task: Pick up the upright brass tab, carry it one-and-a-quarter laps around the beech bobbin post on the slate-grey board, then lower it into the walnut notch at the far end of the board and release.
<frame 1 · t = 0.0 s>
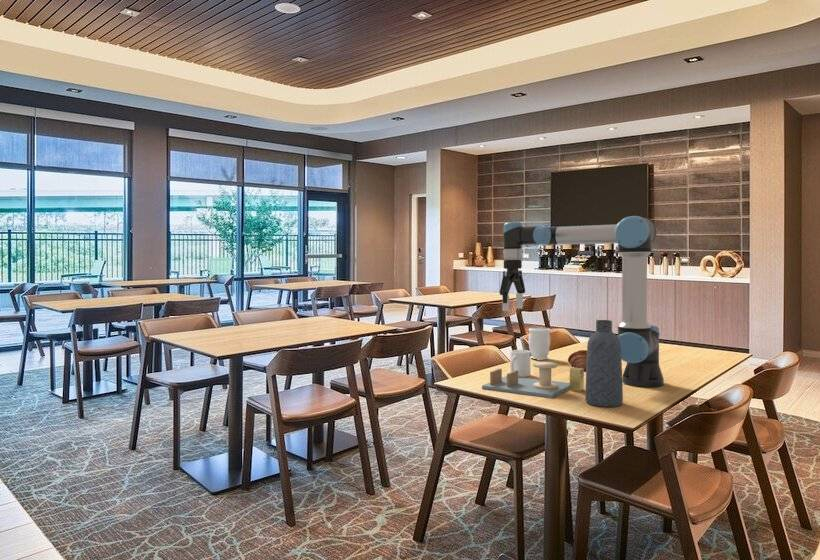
hand: (512, 309, 243), 28 cm above the table, fingers open, 13 cm apart
jar: (539, 359, 283), on the table
tab: (576, 390, 217), on the table
vase: (603, 403, 197), on the table
mug: (518, 376, 243), on the table
pastry: (584, 368, 262), on the table
board: (527, 387, 222), on the table
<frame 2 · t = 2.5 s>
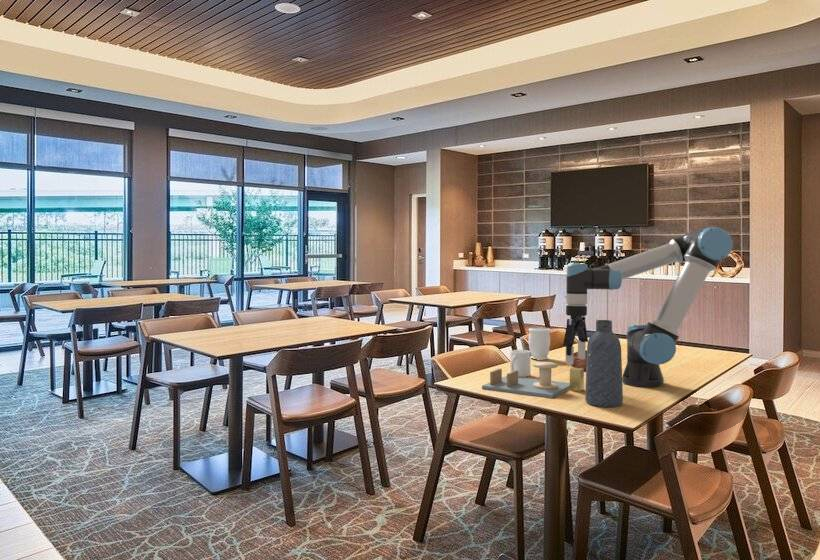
hand: (575, 361, 217), 11 cm above the table, fingers open, 13 cm apart
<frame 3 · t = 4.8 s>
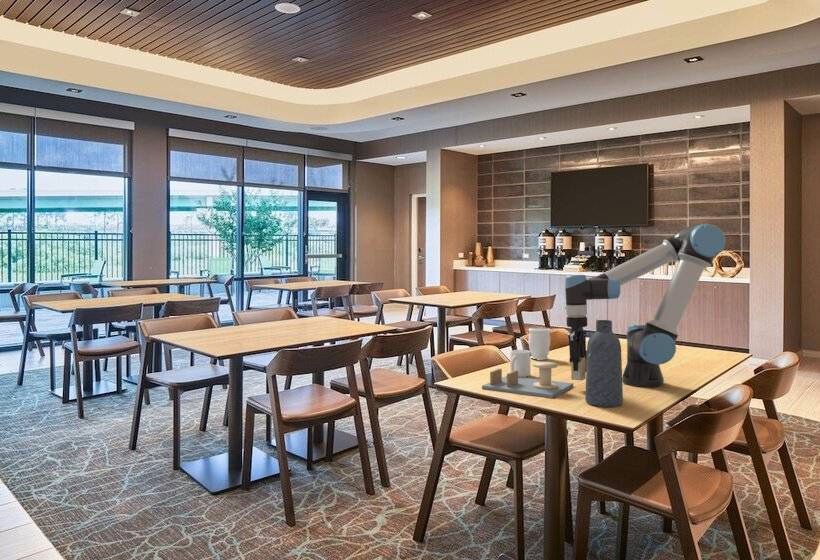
hand: (578, 377, 217), 5 cm above the table, fingers closed on tab, 4 cm apart
tab: (578, 379, 217), point 4 cm above the table, touching gripper
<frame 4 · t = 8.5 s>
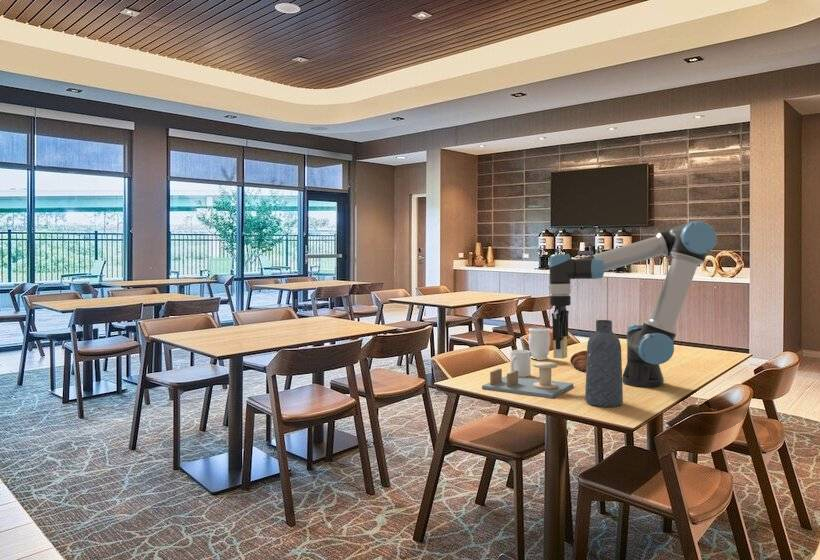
hand: (560, 356, 218), 12 cm above the table, fingers closed on tab, 4 cm apart
tab: (560, 357, 218), point 12 cm above the table, touching gripper
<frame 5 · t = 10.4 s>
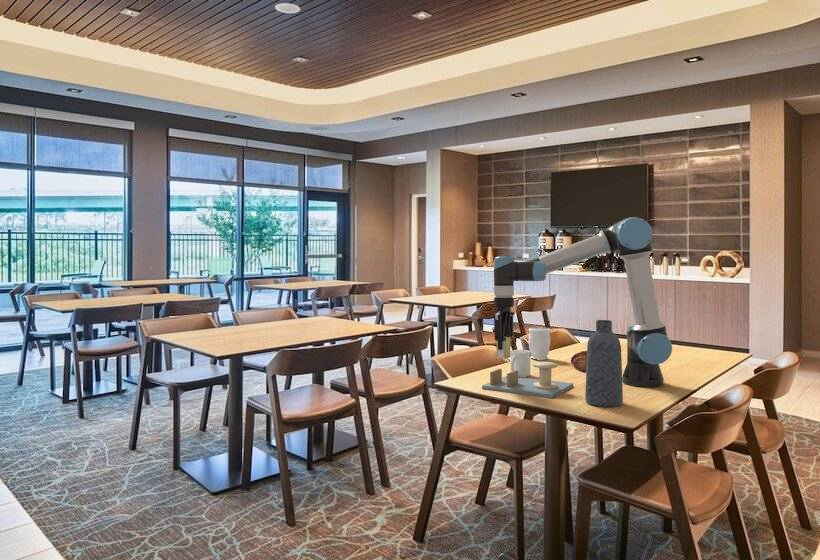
hand: (504, 356, 223), 12 cm above the table, fingers closed on tab, 4 cm apart
tab: (503, 357, 223), point 11 cm above the table, touching gripper
when the fingers open (2 cm above the table, at t = 12.2 s): tab stays where it is, resting on board.
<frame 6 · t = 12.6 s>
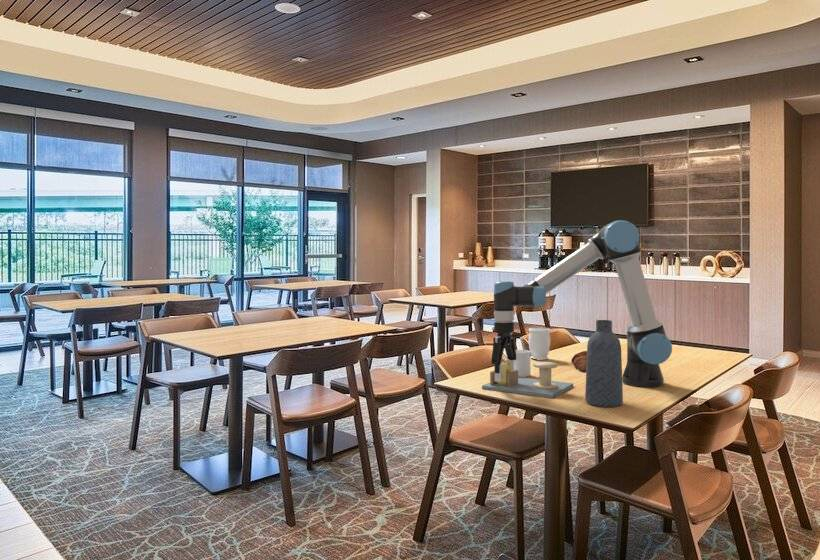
hand: (504, 378, 223), 3 cm above the table, fingers open, 10 cm apart
tab: (503, 383, 223), point 1 cm above the table, touching board
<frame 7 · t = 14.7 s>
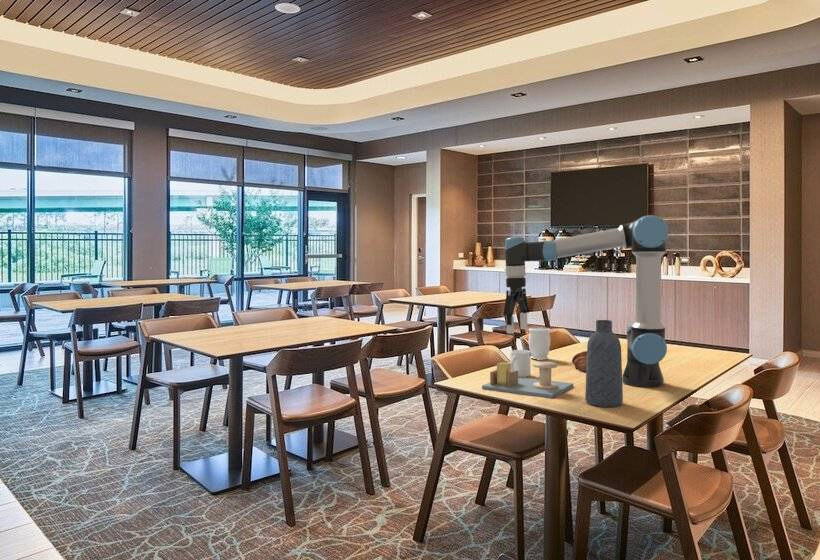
hand: (517, 331, 226), 21 cm above the table, fingers open, 13 cm apart
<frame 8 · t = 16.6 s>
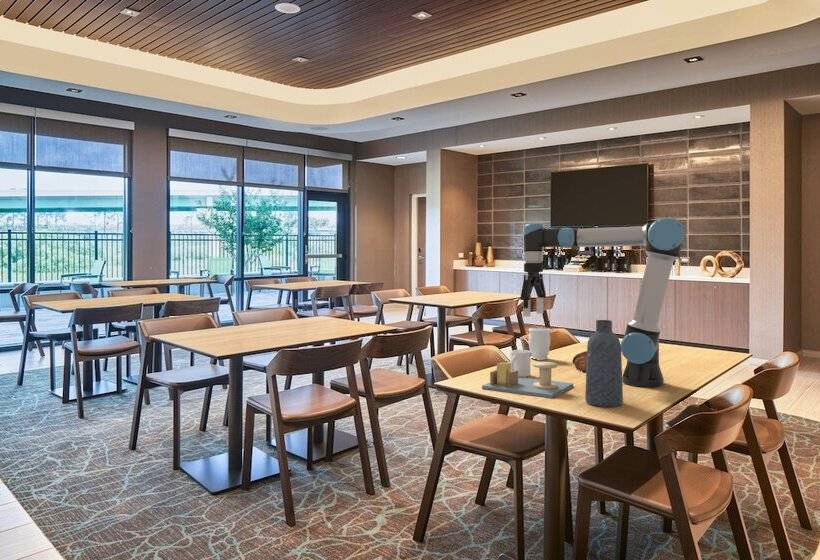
hand: (533, 315, 233), 27 cm above the table, fingers open, 13 cm apart
at the end: tab 0.2 cm from the target spot on the board, point 1.2 cm above the board's base; tab tilted 0°; the gripper is holding nothing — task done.
